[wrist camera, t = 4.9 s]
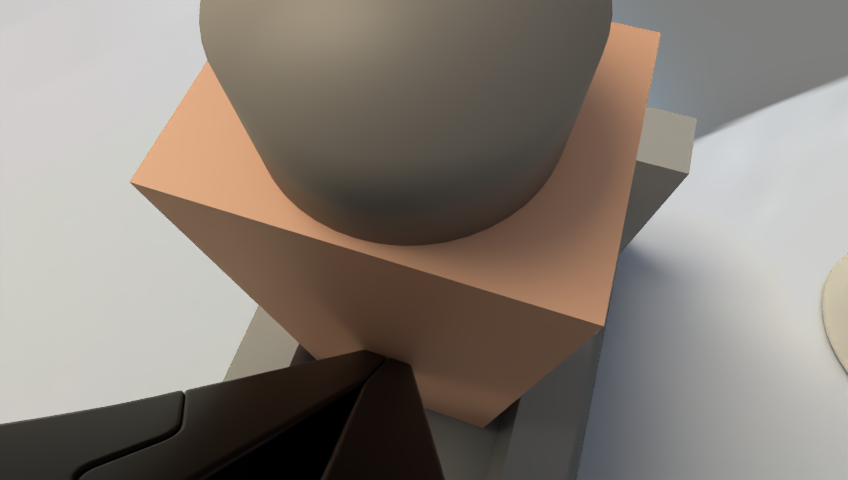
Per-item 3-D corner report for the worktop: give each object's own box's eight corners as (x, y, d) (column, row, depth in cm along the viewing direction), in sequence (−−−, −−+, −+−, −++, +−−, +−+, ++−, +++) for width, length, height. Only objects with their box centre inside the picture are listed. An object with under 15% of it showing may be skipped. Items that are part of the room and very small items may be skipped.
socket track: (524, 662, 12) (597, 814, 7) (193, 528, 14) (34, 566, 8) (611, 231, 17) (697, 118, 12) (357, 160, 18) (325, 28, 13)
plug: (483, 428, 13) (673, 266, 3) (335, 377, 13) (26, 84, 3) (512, 316, 14) (725, -92, 4) (375, 274, 15) (241, -181, 4)
